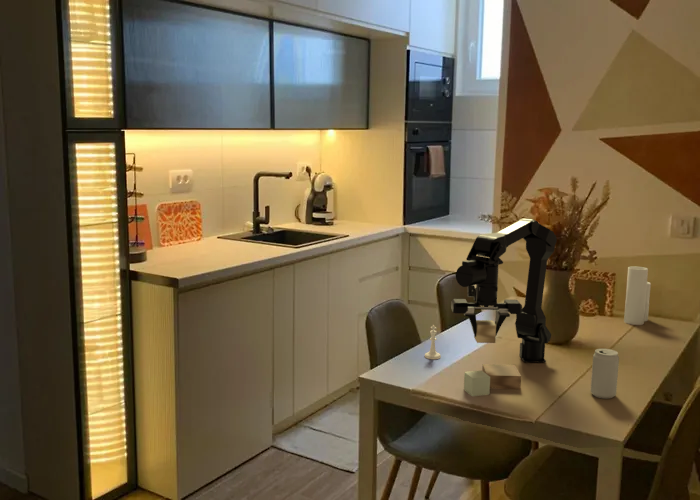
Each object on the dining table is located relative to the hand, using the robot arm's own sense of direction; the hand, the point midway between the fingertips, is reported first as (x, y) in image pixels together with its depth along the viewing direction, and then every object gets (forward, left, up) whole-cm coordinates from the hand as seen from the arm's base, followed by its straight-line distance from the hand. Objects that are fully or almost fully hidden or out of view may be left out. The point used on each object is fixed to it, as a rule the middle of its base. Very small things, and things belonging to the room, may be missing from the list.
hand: (484, 336), depth 199 cm
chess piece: (+12, -18, -12) cm, 25 cm away
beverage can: (-29, +13, -12) cm, 34 cm away
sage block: (+4, +11, -12) cm, 17 cm away
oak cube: (0, 0, -1) cm, 1 cm away
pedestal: (-4, +4, -12) cm, 14 cm away
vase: (-67, -60, -12) cm, 91 cm away
